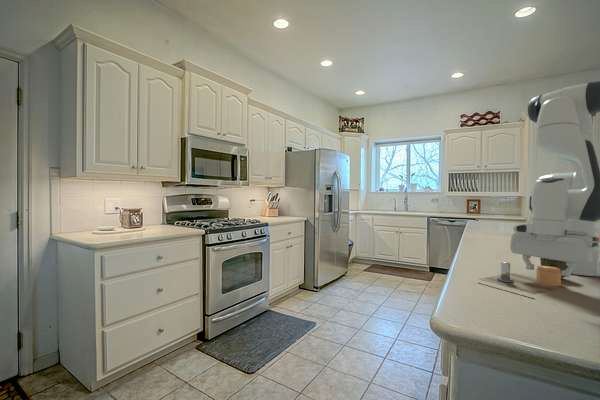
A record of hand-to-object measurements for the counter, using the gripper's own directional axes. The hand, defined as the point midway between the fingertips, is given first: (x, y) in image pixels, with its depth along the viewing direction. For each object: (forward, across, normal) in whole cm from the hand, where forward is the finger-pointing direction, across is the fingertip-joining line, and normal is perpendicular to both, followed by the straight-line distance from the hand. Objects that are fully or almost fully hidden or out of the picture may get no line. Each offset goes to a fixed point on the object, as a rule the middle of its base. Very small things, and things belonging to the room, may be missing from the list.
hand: (547, 272), depth 90 cm
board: (+5, +4, +5) cm, 8 cm away
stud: (+4, +7, +9) cm, 12 cm away
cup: (+5, +3, -11) cm, 12 cm away
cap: (+3, 0, -1) cm, 3 cm away
